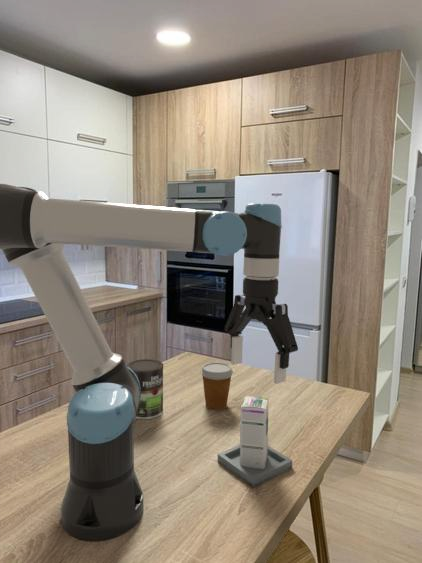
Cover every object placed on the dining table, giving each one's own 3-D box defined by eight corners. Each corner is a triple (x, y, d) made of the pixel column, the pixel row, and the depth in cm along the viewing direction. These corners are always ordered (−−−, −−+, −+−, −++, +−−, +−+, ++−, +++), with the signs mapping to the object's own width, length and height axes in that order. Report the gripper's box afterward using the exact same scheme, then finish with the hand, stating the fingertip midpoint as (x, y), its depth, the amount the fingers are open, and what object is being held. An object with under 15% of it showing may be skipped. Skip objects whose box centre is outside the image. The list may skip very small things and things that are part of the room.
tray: (253, 487, 88) (253, 479, 87) (217, 461, 97) (217, 454, 97) (292, 467, 95) (292, 460, 95) (255, 444, 104) (255, 438, 104)
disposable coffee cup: (226, 414, 120) (227, 374, 118) (195, 409, 123) (196, 370, 121) (235, 401, 129) (236, 364, 127) (206, 396, 132) (207, 360, 130)
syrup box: (265, 470, 93) (267, 408, 91) (238, 466, 94) (240, 405, 92) (267, 456, 98) (269, 397, 96) (242, 452, 100) (244, 395, 97)
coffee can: (170, 412, 121) (170, 365, 119) (139, 423, 114) (139, 374, 112) (150, 400, 129) (150, 356, 126) (120, 410, 122) (120, 363, 120)
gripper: (319, 283, 82) (313, 386, 85) (235, 269, 102) (232, 354, 105) (294, 286, 78) (288, 395, 81) (211, 271, 97) (209, 359, 100)
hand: (256, 372), depth 93 cm, fingers open, 13 cm apart
